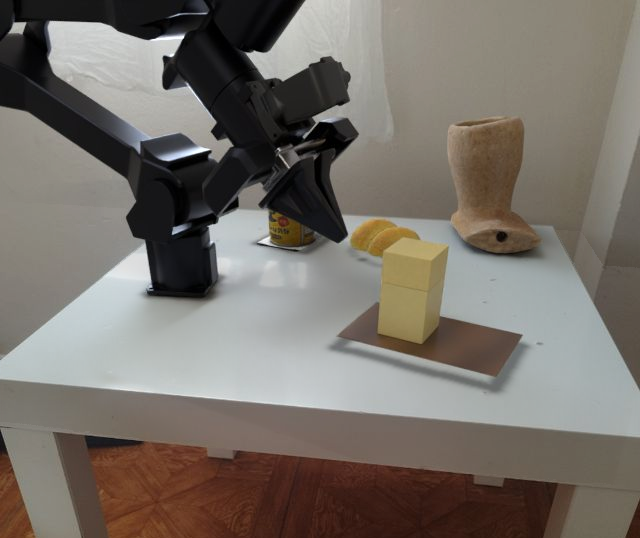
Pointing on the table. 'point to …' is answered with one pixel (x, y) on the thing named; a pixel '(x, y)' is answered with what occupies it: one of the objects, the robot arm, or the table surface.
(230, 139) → the robot arm
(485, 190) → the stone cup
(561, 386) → the table surface
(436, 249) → the butter pat
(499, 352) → the board
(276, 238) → the condiment
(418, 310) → the butter block
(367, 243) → the bread roll
